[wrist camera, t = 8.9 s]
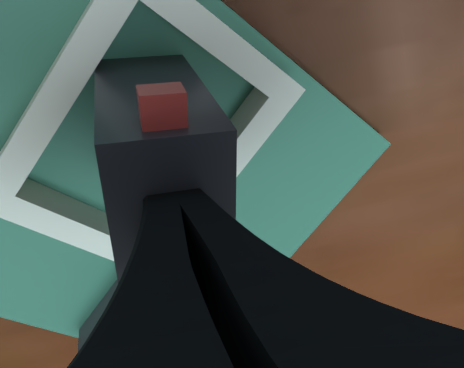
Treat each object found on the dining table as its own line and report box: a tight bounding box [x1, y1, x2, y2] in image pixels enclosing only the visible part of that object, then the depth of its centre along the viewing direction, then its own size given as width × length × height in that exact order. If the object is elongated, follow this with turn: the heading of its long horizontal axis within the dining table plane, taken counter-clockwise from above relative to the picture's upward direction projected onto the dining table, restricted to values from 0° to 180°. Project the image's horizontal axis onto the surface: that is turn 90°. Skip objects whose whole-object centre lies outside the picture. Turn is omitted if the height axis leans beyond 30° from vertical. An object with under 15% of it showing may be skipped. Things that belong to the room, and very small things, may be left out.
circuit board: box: [0, 0, 390, 352], centre depth 16 cm, size 20×16×4 cm
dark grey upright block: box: [94, 54, 237, 283], centre depth 13 cm, size 3×6×7 cm, turn 179°
